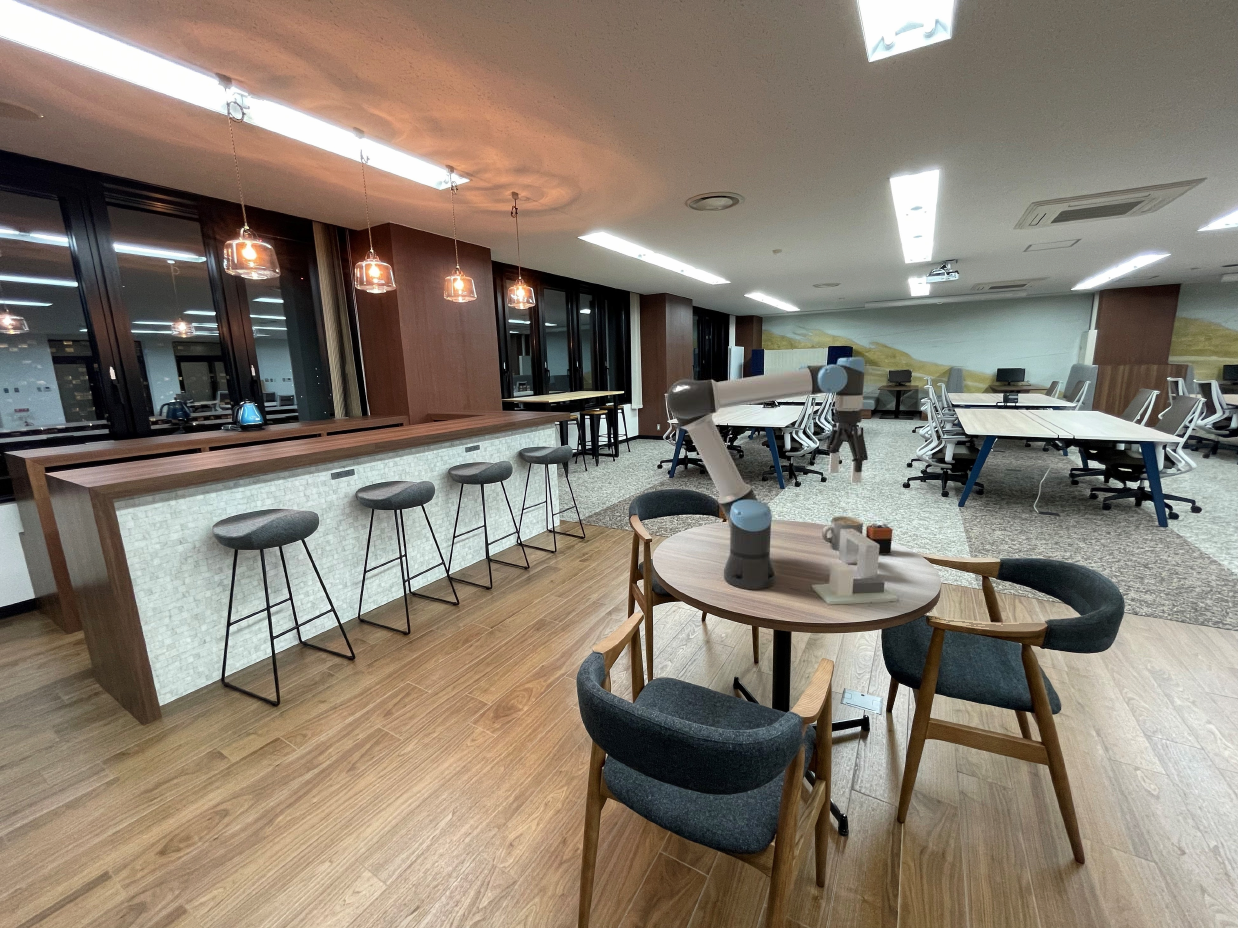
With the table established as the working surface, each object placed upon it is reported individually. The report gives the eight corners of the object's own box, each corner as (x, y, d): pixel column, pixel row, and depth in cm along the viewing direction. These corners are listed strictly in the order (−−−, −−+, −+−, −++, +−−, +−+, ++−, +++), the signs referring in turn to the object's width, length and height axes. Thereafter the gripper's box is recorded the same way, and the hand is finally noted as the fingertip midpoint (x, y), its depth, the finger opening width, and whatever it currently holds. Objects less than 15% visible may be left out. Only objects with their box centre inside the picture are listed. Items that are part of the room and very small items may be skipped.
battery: (864, 550, 164) (866, 522, 162) (884, 549, 164) (886, 522, 162) (870, 554, 159) (873, 526, 158) (891, 554, 159) (893, 526, 157)
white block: (837, 595, 129) (839, 570, 128) (829, 587, 134) (830, 563, 133) (885, 593, 130) (888, 568, 128) (875, 585, 135) (877, 561, 133)
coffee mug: (855, 542, 171) (857, 516, 169) (865, 552, 161) (867, 525, 159) (816, 541, 173) (818, 515, 171) (824, 551, 163) (826, 524, 161)
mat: (828, 604, 127) (829, 601, 127) (812, 587, 137) (812, 584, 136) (897, 601, 128) (897, 597, 127) (875, 584, 137) (876, 581, 137)
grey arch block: (863, 578, 142) (866, 545, 140) (838, 559, 156) (840, 529, 154) (876, 577, 142) (879, 544, 140) (850, 558, 157) (852, 528, 155)
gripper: (884, 412, 131) (879, 486, 135) (839, 406, 155) (836, 469, 160) (858, 413, 131) (853, 487, 135) (817, 407, 155) (814, 469, 159)
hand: (844, 477), depth 147 cm, fingers open, 13 cm apart
